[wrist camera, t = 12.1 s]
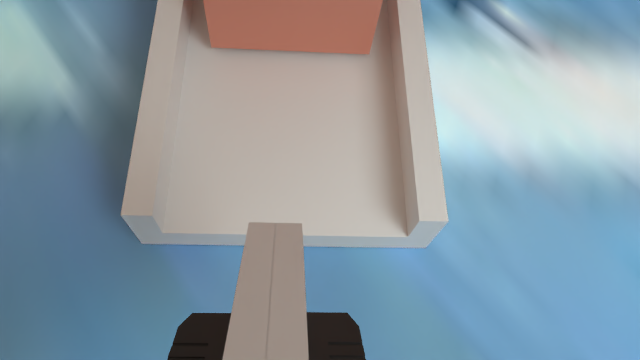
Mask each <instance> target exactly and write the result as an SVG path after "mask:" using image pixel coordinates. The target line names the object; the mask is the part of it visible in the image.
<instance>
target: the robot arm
mask: <svg viewBox="0 0 640 360" xmlns="http://www.w3.org/2000/svg"><path fill="white" fill-rule="evenodd" d="M168 360H366V359H365V353H364V348H363V346H362V339H361V334H360V329H359V326H358V325H357V324H356V322H355V321H354V320H353V319H352V318H351V317H350V315H349V314H348V313H315V312H306V293H305V272H304V252H303V231H302V223H265V222H249V224H248V229H247V234H246V240H245V245H244V250H243V255H242V260H241V266H240V271H239V276H238V281H237V286H236V292H235V297H234V302H233V307H232V312H231V313H192V314H191V315H190V316H189V317H188V318H187V319H186V320H185V321H184V322H183V323H182V324H181V325H180V326H179V327H178V329H177V332H176V335H175V338H174V341H173V346H172V347H171V350H170V352H169V355H168Z"/></svg>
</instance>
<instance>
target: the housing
mask: <svg viewBox="0 0 640 360" xmlns="http://www.w3.org/2000/svg"><path fill="white" fill-rule="evenodd" d="M121 216H122V218H123V219H124V220H125V222H126V223H127V224H128V226H129V227H130V228H131V230H132V231H133V232H134V234H135V235H136V236H137V238H138V239H139V240H140V242H141V243H142V244H183V245H245V240H246V234H247V229H248V224H249V222H265V223H302V231H303V246H315V247H381V248H426V247H427V246H428V245H429V244H430V242H431V241H432V240H433V239H434V238H435V237H436V235H437V234H438V233H439V232H440V231H441V230H442V228H443V227H444V226H445V225H446V224H447V223H448V214H447V206H446V199H445V191H444V183H443V175H442V167H441V159H440V152H439V144H438V136H437V128H436V120H435V113H434V105H433V97H432V89H431V81H430V73H429V66H428V58H427V50H426V42H425V34H424V27H423V19H422V11H421V3H420V0H383V2H382V6H381V10H380V14H379V18H378V22H377V26H376V30H375V34H374V37H373V41H372V45H371V49H370V53H369V54H347V53H325V52H302V51H279V50H256V49H233V48H211V43H210V38H209V32H208V26H207V20H206V15H205V9H204V3H203V0H158V2H157V8H156V14H155V20H154V25H153V31H152V37H151V43H150V48H149V54H148V60H147V66H146V71H145V77H144V83H143V89H142V95H141V100H140V106H139V112H138V118H137V123H136V129H135V135H134V141H133V146H132V152H131V158H130V164H129V170H128V175H127V181H126V187H125V193H124V198H123V204H122V210H121Z"/></svg>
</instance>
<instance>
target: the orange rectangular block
mask: <svg viewBox="0 0 640 360" xmlns="http://www.w3.org/2000/svg"><path fill="white" fill-rule="evenodd" d="M382 2H383V0H203V3H204V9H205V15H206V20H207V26H208V32H209V38H210V43H211V48H233V49H256V50H279V51H302V52H325V53H347V54H369V53H370V49H371V45H372V41H373V37H374V34H375V30H376V26H377V22H378V18H379V14H380V10H381V6H382Z"/></svg>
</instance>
